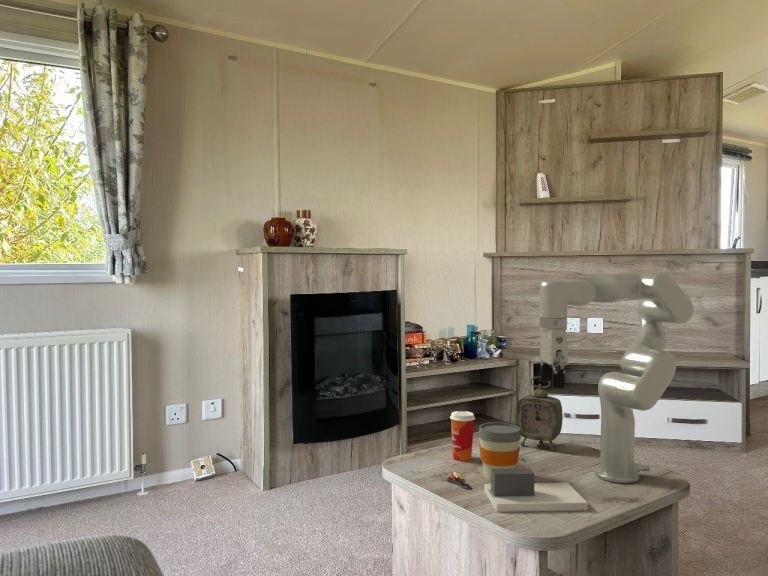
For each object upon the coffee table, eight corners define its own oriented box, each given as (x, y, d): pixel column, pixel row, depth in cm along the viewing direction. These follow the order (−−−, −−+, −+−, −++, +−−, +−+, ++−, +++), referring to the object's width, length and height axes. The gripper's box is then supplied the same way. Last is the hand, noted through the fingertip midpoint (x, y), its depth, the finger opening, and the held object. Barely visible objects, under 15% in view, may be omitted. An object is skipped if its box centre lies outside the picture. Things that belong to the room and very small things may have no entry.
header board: (567, 489, 166) (567, 472, 166) (587, 510, 152) (587, 491, 152) (484, 490, 165) (484, 473, 165) (496, 511, 151) (496, 492, 151)
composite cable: (472, 490, 166) (473, 481, 166) (457, 492, 165) (457, 483, 165) (458, 478, 176) (458, 470, 176) (443, 479, 174) (444, 471, 174)
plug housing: (529, 489, 160) (529, 468, 160) (534, 495, 156) (534, 473, 156) (490, 490, 160) (490, 468, 160) (494, 496, 156) (494, 474, 155)
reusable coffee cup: (506, 467, 184) (507, 420, 183) (528, 481, 172) (529, 431, 172) (470, 471, 180) (471, 423, 179) (490, 486, 168) (491, 435, 168)
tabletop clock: (515, 446, 206) (516, 376, 205) (523, 440, 214) (524, 372, 213) (556, 453, 199) (558, 380, 198) (563, 446, 206) (564, 376, 206)
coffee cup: (448, 454, 197) (449, 410, 196) (473, 454, 197) (473, 410, 196) (450, 462, 189) (451, 416, 188) (476, 463, 188) (476, 417, 188)
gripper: (578, 327, 156) (576, 390, 156) (555, 321, 173) (554, 378, 174) (550, 327, 155) (549, 390, 156) (530, 321, 172) (529, 378, 173)
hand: (552, 384), depth 165 cm, fingers open, 9 cm apart
